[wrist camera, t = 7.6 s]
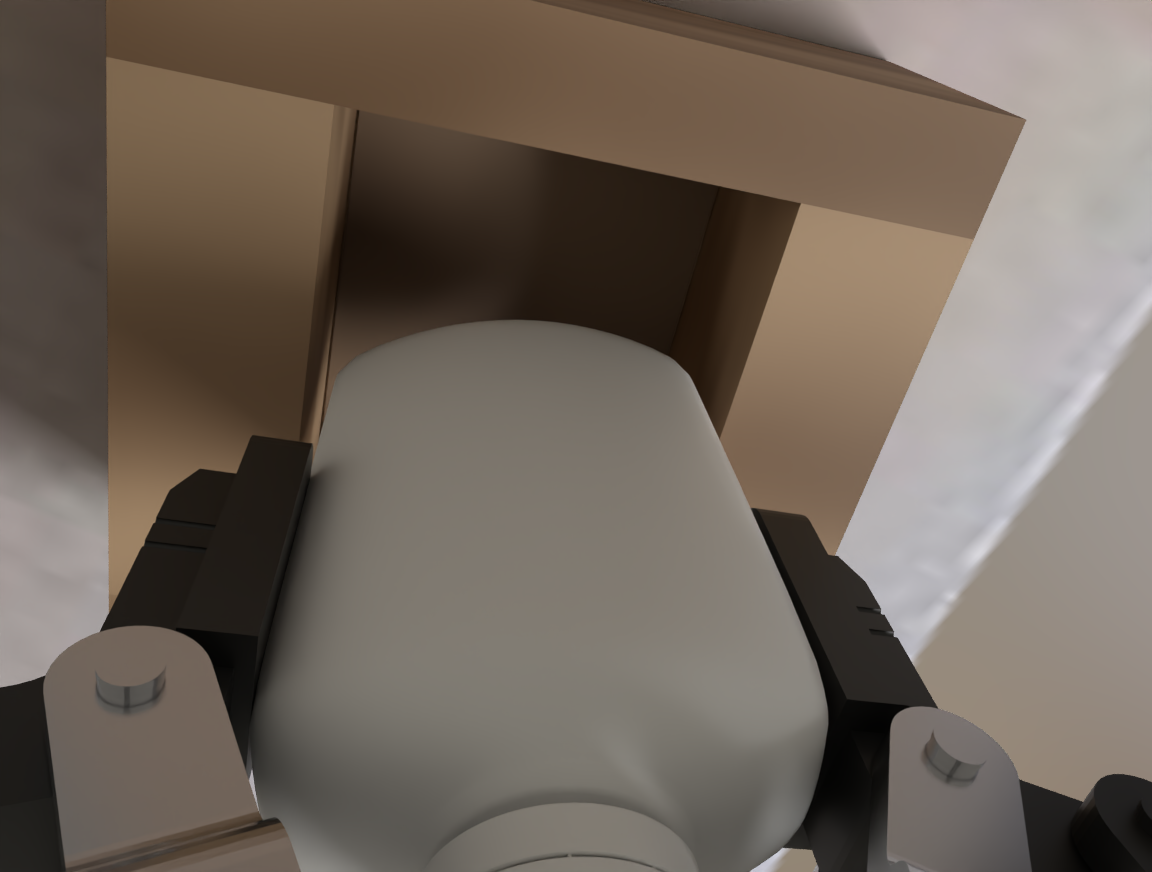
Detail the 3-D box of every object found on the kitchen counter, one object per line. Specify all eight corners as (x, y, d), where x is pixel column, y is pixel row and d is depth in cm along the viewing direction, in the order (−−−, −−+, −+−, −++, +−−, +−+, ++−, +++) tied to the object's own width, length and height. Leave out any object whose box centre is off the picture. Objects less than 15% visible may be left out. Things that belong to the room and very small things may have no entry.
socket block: (207, -107, 15) (105, -103, 11) (889, 62, 18) (1026, 119, 13) (183, 509, 21) (109, 672, 17) (703, 575, 23) (756, 733, 19)
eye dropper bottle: (588, 571, 17) (768, 1589, 7) (295, 442, 15) (-54, 1569, 5) (730, 382, 16) (1241, 1342, 5) (421, 211, 14) (284, 1183, 3)
